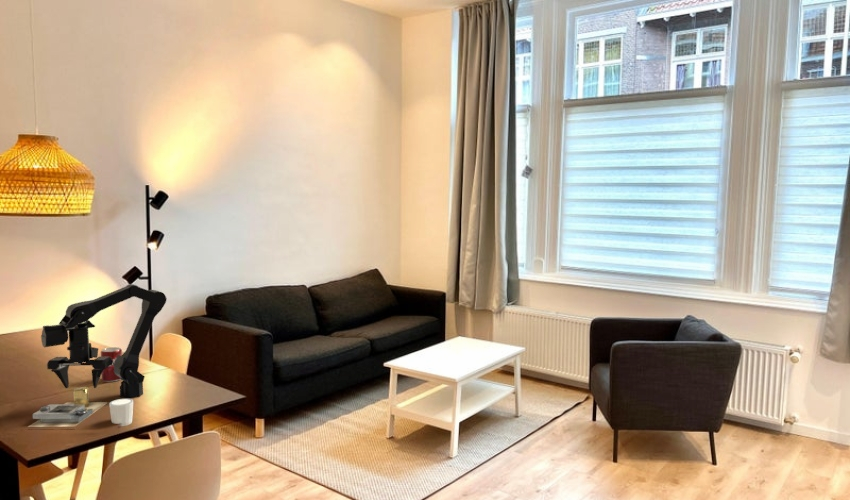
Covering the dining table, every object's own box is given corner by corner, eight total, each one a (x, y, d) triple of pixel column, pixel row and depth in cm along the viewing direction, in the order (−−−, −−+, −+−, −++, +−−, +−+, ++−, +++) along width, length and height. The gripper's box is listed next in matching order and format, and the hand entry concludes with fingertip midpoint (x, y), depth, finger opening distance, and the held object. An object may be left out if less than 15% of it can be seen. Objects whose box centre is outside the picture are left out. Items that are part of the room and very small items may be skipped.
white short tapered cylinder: (137, 419, 197) (137, 398, 196) (128, 427, 190) (127, 405, 189) (116, 419, 196) (115, 398, 196) (105, 427, 190) (104, 405, 189)
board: (108, 405, 210) (108, 402, 210) (74, 429, 188) (74, 426, 188) (66, 405, 209) (66, 402, 209) (27, 429, 187) (27, 426, 187)
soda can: (97, 380, 236) (96, 350, 235) (114, 375, 243) (113, 346, 242) (109, 383, 233) (108, 352, 232) (126, 378, 239) (125, 348, 238)
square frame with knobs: (93, 413, 199) (92, 402, 199) (78, 423, 190) (78, 412, 190) (49, 413, 198) (48, 402, 198) (32, 423, 190) (32, 412, 189)
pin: (91, 404, 208) (90, 386, 207) (84, 408, 203) (84, 390, 203) (78, 404, 207) (77, 386, 207) (71, 408, 203) (70, 391, 202)
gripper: (118, 336, 212) (120, 380, 213) (63, 336, 211) (65, 380, 212) (103, 344, 201) (105, 390, 202) (44, 344, 200) (47, 391, 201)
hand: (81, 387), depth 205 cm, fingers open, 9 cm apart
